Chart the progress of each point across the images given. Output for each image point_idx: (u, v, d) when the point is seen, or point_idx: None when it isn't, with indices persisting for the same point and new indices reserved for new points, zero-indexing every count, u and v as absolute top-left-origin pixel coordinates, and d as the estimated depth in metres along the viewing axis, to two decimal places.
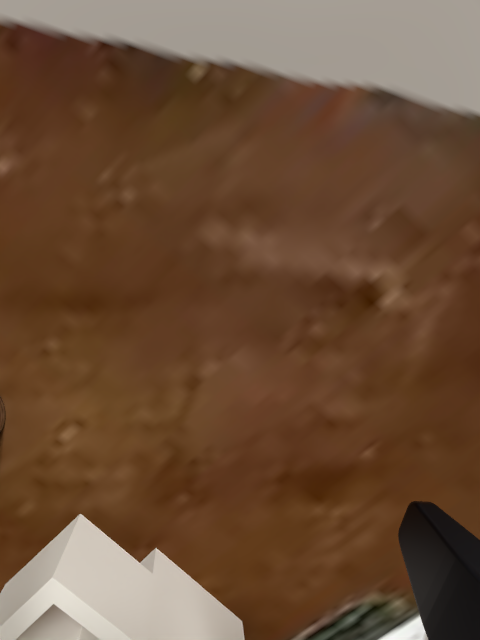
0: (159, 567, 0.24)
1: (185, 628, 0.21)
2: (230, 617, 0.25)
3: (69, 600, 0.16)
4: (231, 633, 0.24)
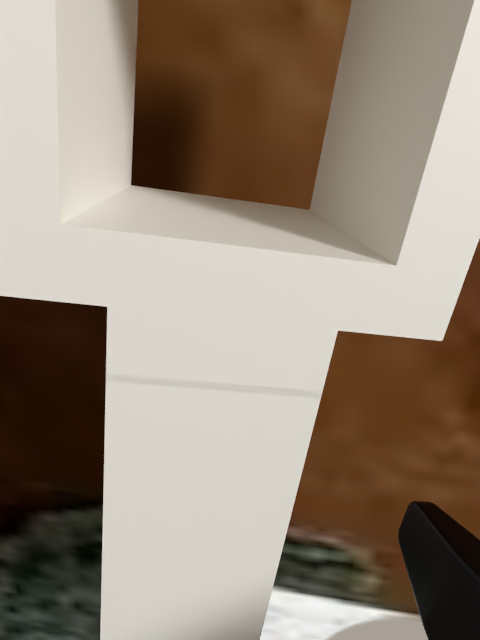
0: None
1: None
2: None
3: None
4: None
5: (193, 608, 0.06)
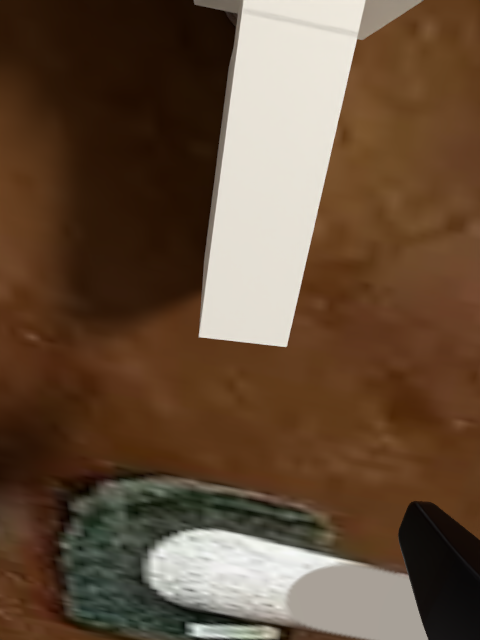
0: None
1: None
2: None
3: None
4: None
5: (270, 212, 0.10)
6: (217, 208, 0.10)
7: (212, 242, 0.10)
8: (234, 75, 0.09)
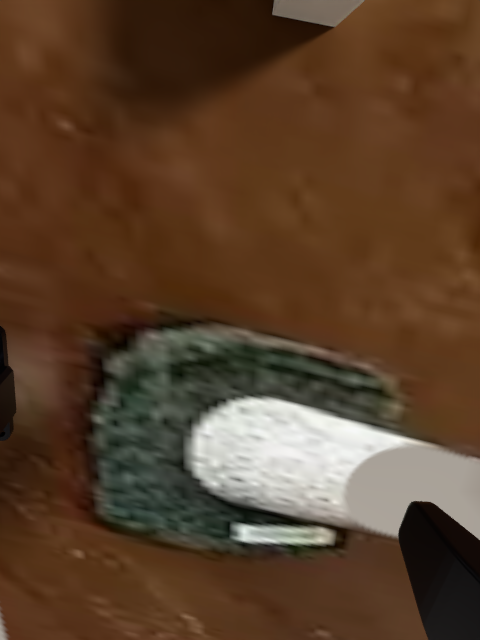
0: None
1: None
2: None
3: None
4: None
5: None
6: None
7: None
8: None
